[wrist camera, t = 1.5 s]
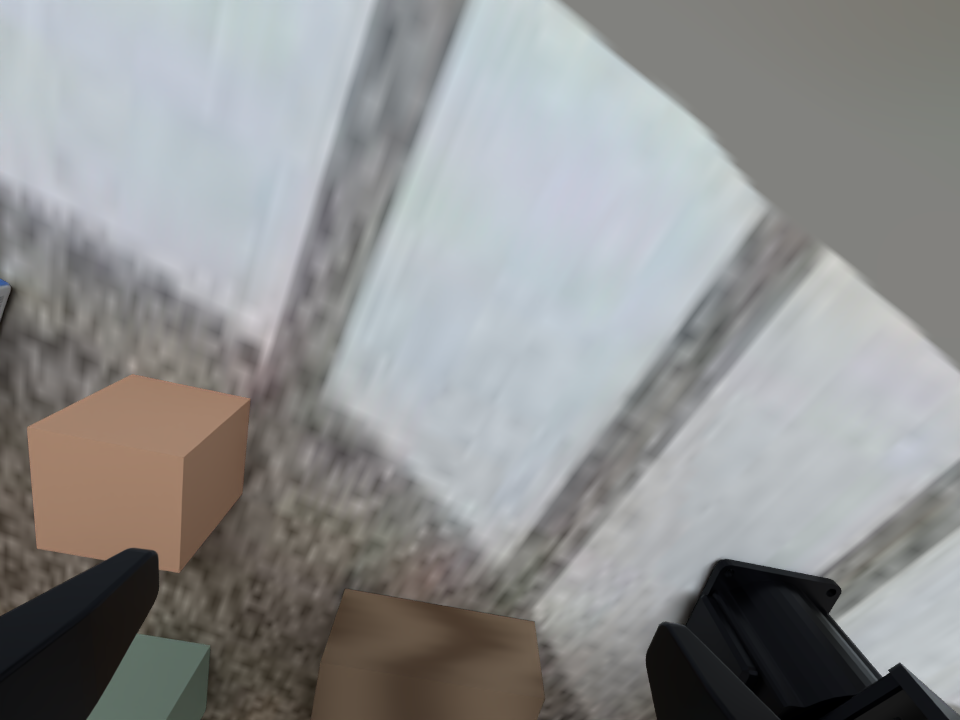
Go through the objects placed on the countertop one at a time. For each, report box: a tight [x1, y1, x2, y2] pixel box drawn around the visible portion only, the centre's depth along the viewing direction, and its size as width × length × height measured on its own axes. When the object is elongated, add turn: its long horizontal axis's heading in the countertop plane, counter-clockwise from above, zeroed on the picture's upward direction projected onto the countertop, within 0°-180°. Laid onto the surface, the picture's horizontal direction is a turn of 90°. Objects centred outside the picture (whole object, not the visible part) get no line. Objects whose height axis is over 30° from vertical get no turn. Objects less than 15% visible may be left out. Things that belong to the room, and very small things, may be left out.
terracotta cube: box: [27, 374, 250, 573], centre depth 19 cm, size 5×5×5 cm
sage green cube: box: [87, 634, 210, 720], centre depth 23 cm, size 5×5×5 cm
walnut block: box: [311, 589, 545, 720], centre depth 24 cm, size 10×10×4 cm
